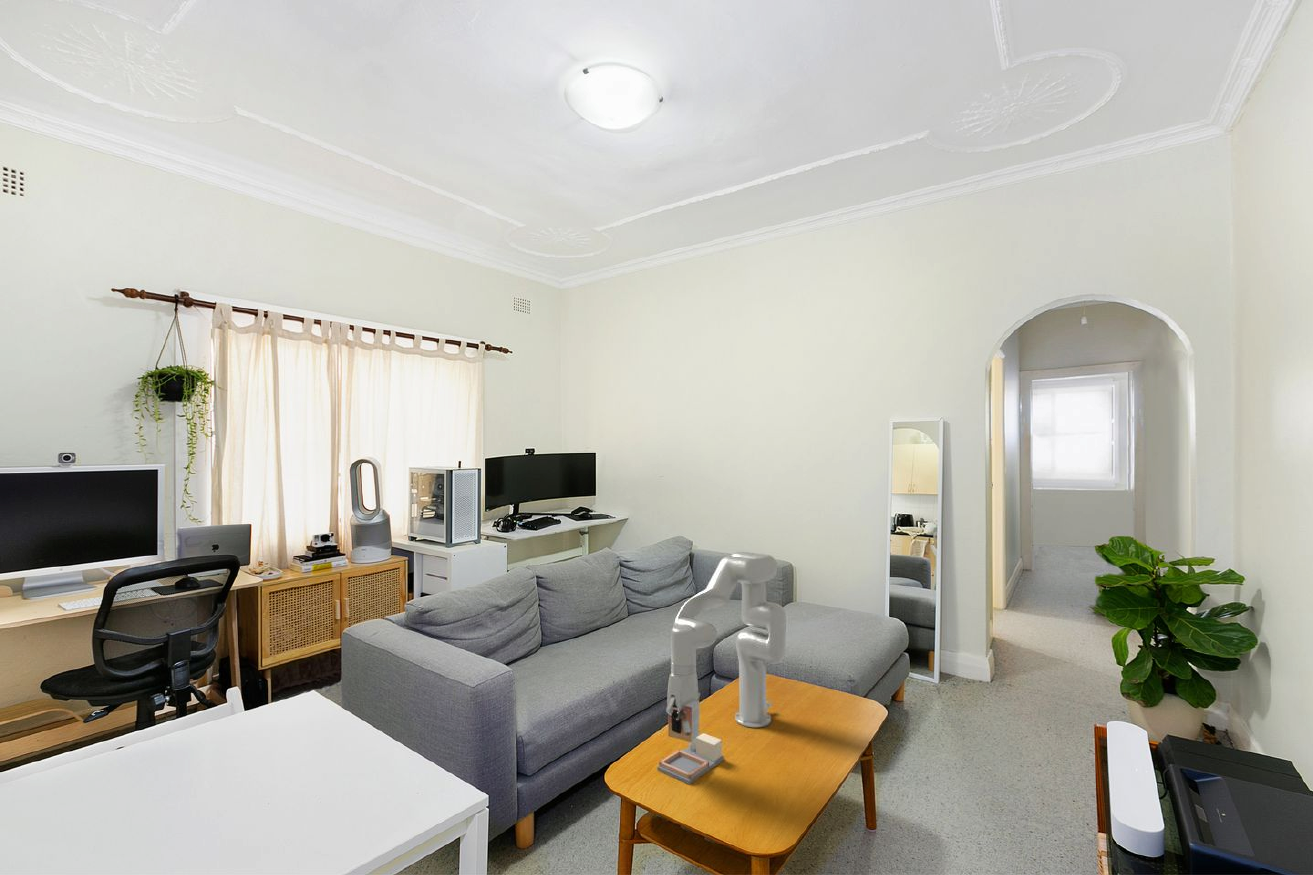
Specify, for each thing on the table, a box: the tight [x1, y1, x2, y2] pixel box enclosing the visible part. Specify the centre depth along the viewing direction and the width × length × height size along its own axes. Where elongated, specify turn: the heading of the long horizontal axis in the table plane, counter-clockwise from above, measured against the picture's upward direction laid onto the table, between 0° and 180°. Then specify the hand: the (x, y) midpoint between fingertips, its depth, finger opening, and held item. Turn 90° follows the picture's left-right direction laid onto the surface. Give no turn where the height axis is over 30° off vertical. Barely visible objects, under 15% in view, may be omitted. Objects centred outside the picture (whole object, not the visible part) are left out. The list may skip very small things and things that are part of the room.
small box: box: [667, 700, 700, 743], centre depth 179 cm, size 8×6×10 cm
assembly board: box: [657, 733, 725, 785], centre depth 181 cm, size 18×12×6 cm, turn 140°
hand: (683, 726), depth 179 cm, fingers closed on small box, 6 cm apart
